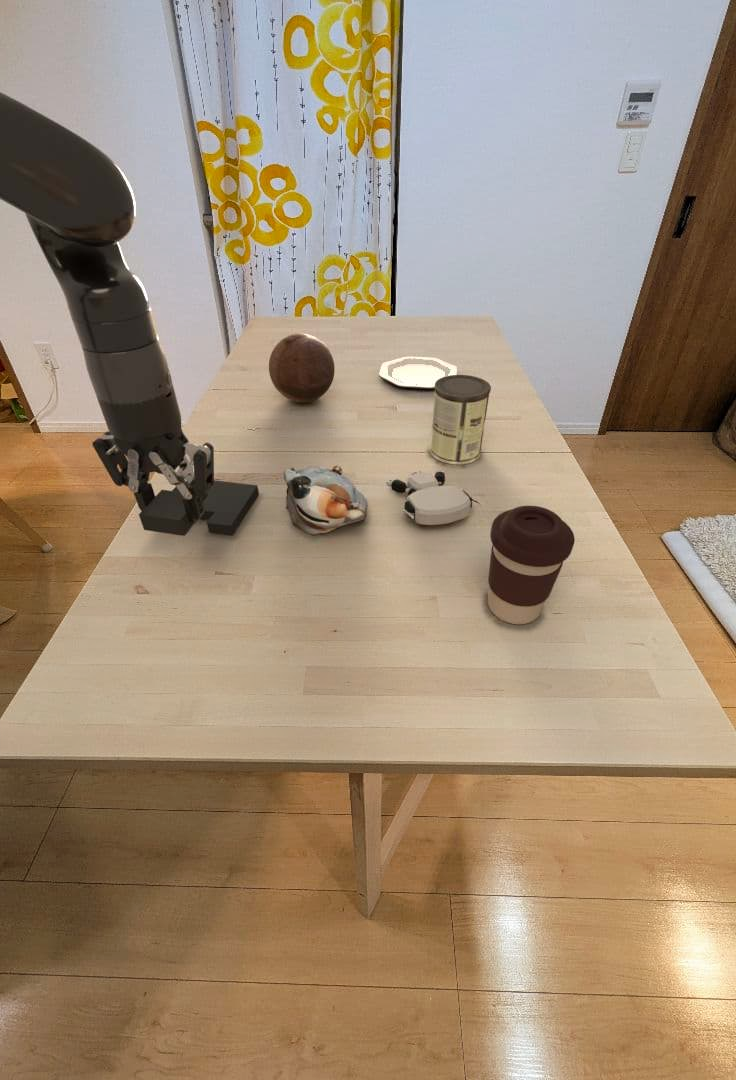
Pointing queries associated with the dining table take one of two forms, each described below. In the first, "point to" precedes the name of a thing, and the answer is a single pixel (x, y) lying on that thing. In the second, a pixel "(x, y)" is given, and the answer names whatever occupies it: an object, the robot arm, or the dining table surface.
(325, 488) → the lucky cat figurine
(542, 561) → the coffee cup
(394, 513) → the dining table surface
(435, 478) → the robot toy
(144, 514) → the black pad
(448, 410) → the coffee can
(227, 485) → the base pad
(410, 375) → the plate
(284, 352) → the wooden sphere
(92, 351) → the robot arm
